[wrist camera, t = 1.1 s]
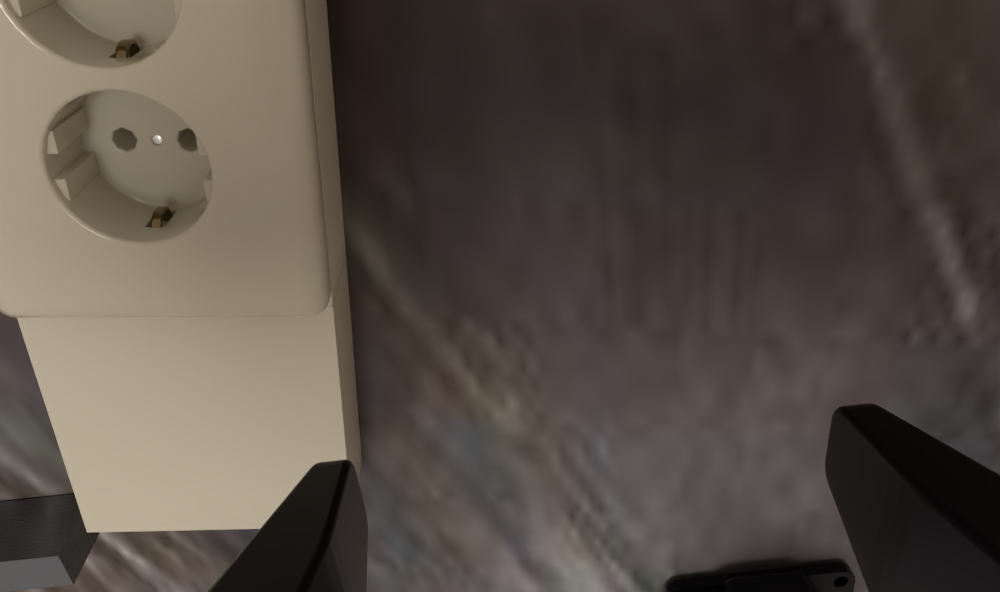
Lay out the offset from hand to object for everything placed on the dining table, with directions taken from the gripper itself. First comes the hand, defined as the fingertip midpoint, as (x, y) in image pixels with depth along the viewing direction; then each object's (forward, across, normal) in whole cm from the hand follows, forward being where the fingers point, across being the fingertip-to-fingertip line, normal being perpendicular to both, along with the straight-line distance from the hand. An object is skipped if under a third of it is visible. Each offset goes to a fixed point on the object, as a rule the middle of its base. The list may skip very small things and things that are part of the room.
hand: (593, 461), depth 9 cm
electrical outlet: (+13, +8, +1) cm, 15 cm away
